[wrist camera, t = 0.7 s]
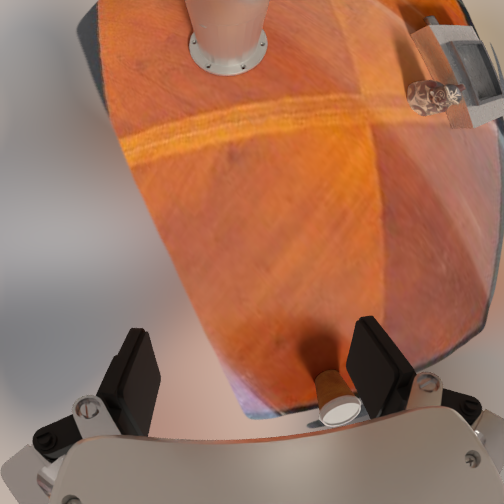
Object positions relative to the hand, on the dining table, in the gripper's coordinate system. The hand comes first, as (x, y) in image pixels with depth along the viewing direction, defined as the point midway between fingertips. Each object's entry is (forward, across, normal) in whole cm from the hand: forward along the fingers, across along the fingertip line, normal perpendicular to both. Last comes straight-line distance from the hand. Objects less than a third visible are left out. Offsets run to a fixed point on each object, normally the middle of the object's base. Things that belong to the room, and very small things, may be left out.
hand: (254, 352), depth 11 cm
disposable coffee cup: (+34, -20, +40) cm, 57 cm away
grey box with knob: (+35, -48, -33) cm, 68 cm away
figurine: (+35, -36, -23) cm, 55 cm away
